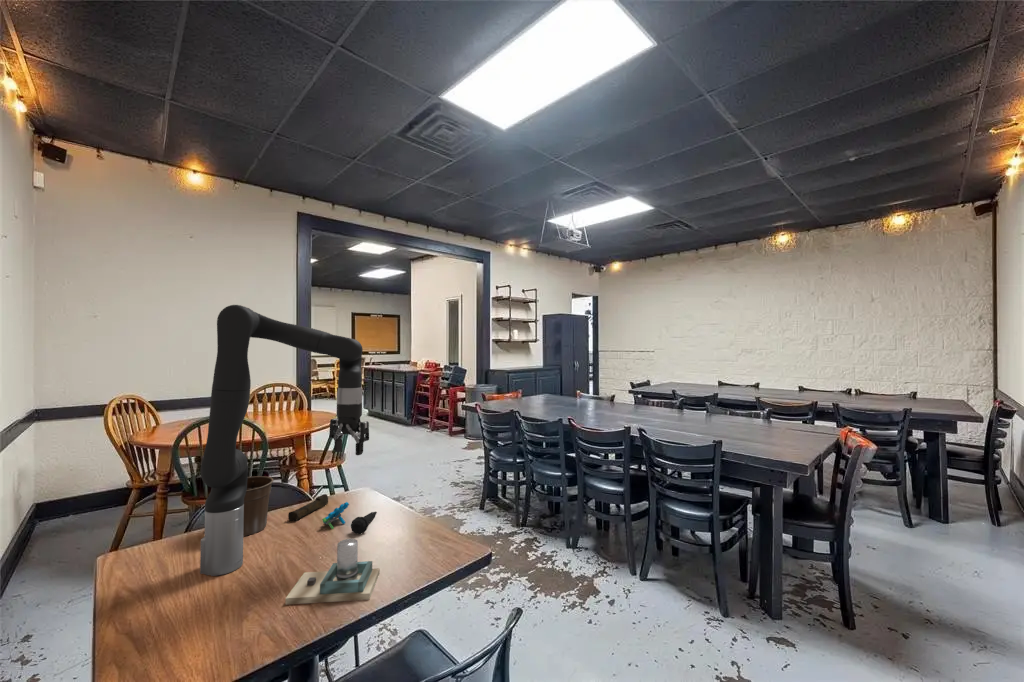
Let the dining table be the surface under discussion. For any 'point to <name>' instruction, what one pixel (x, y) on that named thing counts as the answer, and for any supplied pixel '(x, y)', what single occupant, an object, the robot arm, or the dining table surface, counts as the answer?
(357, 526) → the microphone
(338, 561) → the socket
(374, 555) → the dining table surface
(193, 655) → the dining table surface
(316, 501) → the dark brown rod
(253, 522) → the plant pot
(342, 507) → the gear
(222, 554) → the robot arm
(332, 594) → the beige board with frame
